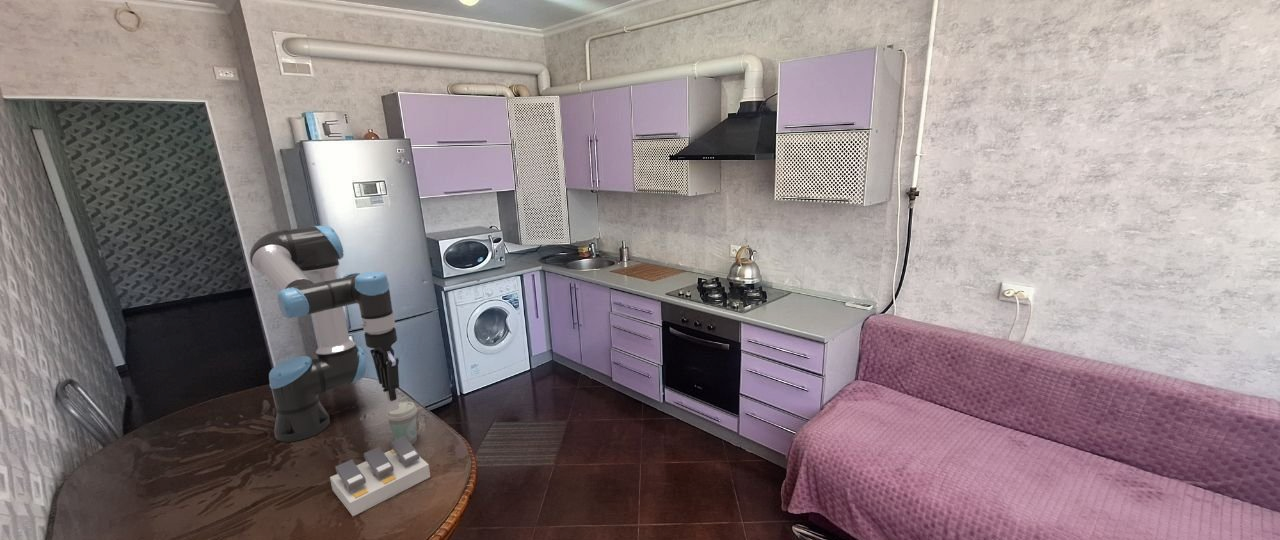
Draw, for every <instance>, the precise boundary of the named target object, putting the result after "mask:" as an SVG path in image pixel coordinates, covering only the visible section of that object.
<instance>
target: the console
mask: <svg viewBox="0 0 1280 540" xmlns="http://www.w3.org/2000/svg"><path fill="white" fill-rule="evenodd" d="M383 453H384V454H385V455H386V457H387V458H388V460H389V461H390V462H391V464H392V465H393V467H394V471H393V472H391V473H389V474H387V475H385V476H383V477H380V478H378V477H377V476H376V474H375V473H374V472H373V470H372V469H371V467H370V466H369V464H368V463H367V461H366V460H365V461H363V462H361V463H359V464H357V465H356V464H355V465H356V466H357V467H358V469H359V470H360V471H361V473H362V474H363V476H364V477H365V479H366V483H365V484H363V485H361V486H359V487H357V488H354V489H352V490H350V491H349V490H348V488H347V487H346V485H345V484H344V482H343V481H342V480H341V478H340V477H339V475H338V474H337V473H336V474H334V475H331V476H330V477H329V480H330V484H331V489H332V492H333V493H334V494H335V496H337V498H338V499H339V501H340V502H341V503H342V505H344V507H345V508H346V509H347V511H348V512H349V513H350V514H351V516H352V517H354V516H355V517H356V516H357V515H359V514H360V513H363V512H364V511H366V510H368V509H370V508H373V507H374V506H377V505H379V504H381V503H383V502H384V501H386V500H388V499H390V498H392V497H395V496H396V495H398V494H400V493H402V492H404V491H406V490H407V489H410V488H412V487H414V486H416V485H417V484H419V483H421V482H424V481H425V480H427V479H429V478H431V473H430V472H431V471H430V465H429V463H428V462H427V461H426V460H424V459H423V458H422V457H421V456H420V455H419V459H418V460H416V461H414V462H412V463H410V464H408V465H406V466H405V465H404V464H403V462H402V461H401V460H400V458H399V457H398V456H397V454H396V453H395V452H394V450H393V449H392V448H391V449H390V450H387V451H385V452H383Z"/></svg>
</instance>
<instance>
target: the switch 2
mask: <svg viewBox="0 0 1280 540" xmlns="http://www.w3.org/2000/svg"><path fill="white" fill-rule="evenodd" d="M384 453H385V452H384V451H383V450H382V448H381V447H380V446H377V447H374V448H373V449H370V450H368V451H366V452H364V453H363V458H364V460H365V461H367V463H368V464H369V466H370V467H371V469H372V470H373V472H374V473H375V474H376V476H377V477H378V478H380V477H383V476H385V475H387V474H389V473H391V472H393V471H394V467H393V465H392V464H391V462H390V461H389V460H388V458H387V457H386V455H385V454H384Z"/></svg>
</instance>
